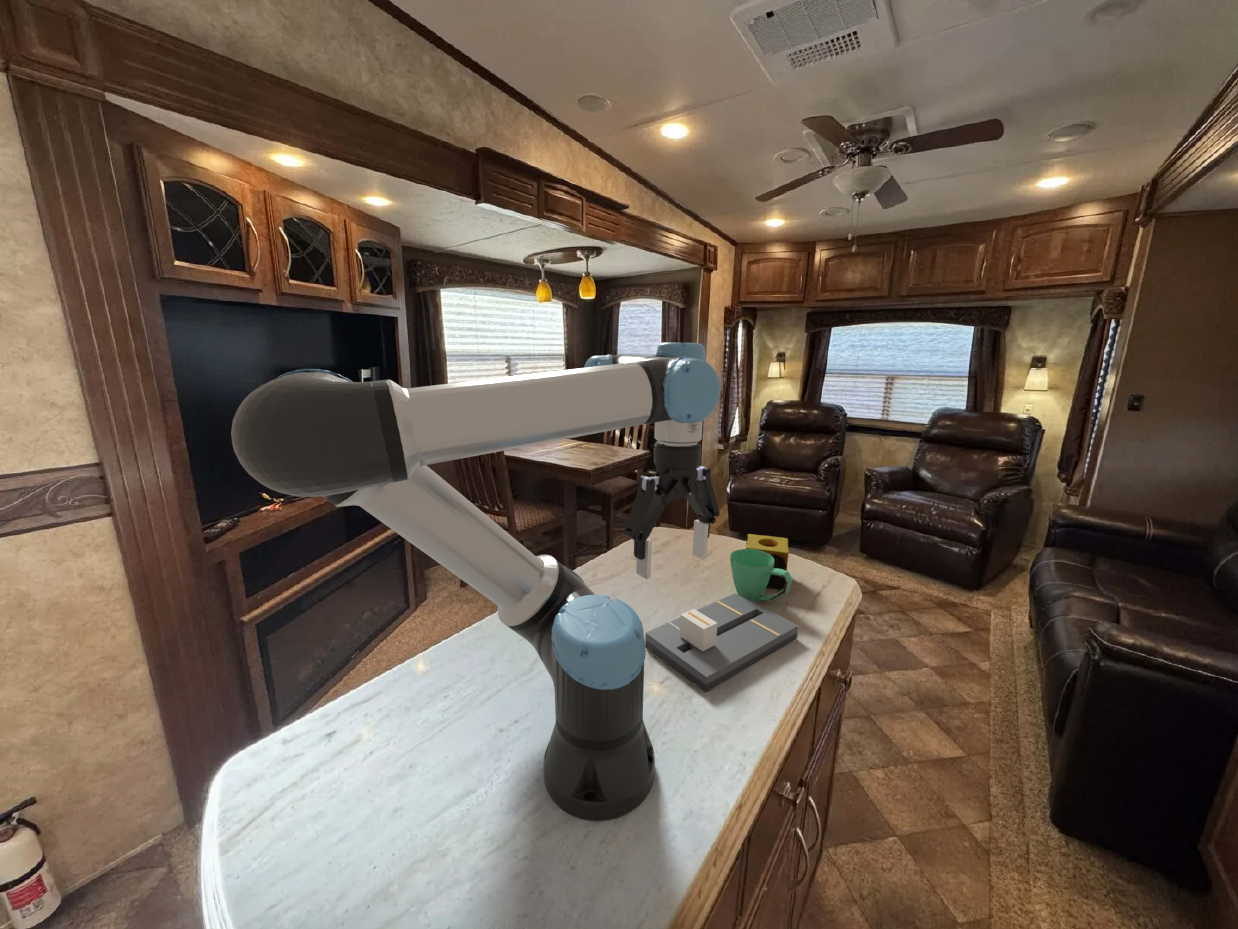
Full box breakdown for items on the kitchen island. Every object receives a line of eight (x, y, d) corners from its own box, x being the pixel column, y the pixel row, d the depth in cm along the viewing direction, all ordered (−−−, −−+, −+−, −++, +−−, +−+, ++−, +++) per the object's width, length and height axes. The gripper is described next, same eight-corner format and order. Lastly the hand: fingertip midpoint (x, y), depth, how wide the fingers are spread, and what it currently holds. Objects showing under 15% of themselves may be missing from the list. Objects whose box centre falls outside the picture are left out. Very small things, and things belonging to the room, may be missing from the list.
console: (705, 692, 81) (706, 676, 81) (645, 646, 94) (645, 632, 93) (796, 639, 97) (798, 625, 96) (734, 605, 109) (735, 592, 108)
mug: (719, 597, 113) (721, 557, 110) (742, 583, 119) (744, 545, 117) (777, 622, 102) (781, 579, 100) (798, 605, 109) (803, 564, 107)
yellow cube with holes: (741, 585, 118) (744, 547, 116) (743, 568, 128) (746, 532, 125) (785, 592, 115) (789, 553, 113) (784, 573, 125) (787, 537, 122)
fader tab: (702, 658, 87) (703, 628, 86) (679, 642, 92) (680, 614, 91) (715, 651, 89) (717, 622, 88) (692, 636, 94) (693, 608, 93)
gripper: (632, 454, 67) (629, 595, 72) (746, 437, 82) (737, 556, 87) (601, 446, 73) (601, 576, 78) (712, 431, 87) (706, 542, 92)
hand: (672, 565), depth 82 cm, fingers open, 12 cm apart
